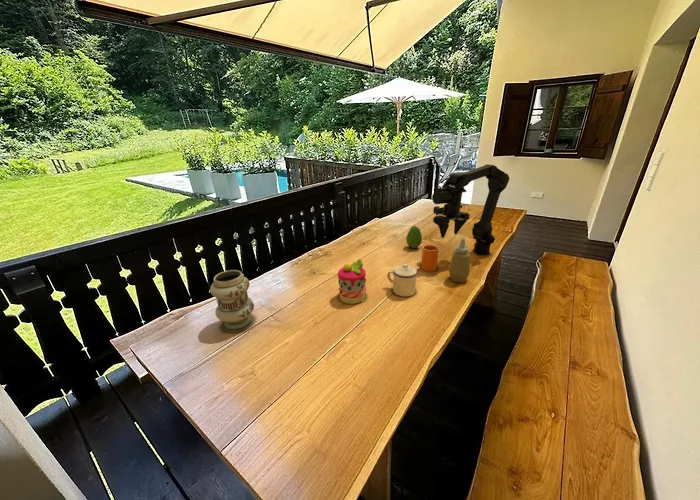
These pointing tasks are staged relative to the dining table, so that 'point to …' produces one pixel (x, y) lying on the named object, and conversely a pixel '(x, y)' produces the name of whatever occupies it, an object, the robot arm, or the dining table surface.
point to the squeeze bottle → (460, 263)
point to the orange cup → (429, 257)
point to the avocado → (414, 237)
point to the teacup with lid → (403, 280)
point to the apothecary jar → (232, 300)
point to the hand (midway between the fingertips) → (449, 235)
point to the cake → (352, 282)
